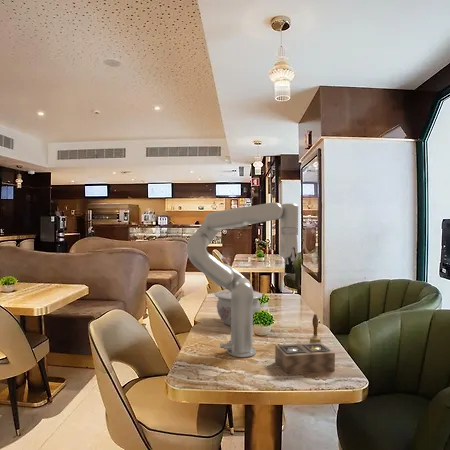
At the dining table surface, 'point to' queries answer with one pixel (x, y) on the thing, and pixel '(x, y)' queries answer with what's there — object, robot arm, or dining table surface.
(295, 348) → the steel plunger
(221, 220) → the robot arm
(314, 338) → the hand bell
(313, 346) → the brass plunger
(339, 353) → the dining table surface
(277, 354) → the walnut block
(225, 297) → the chamber pot
